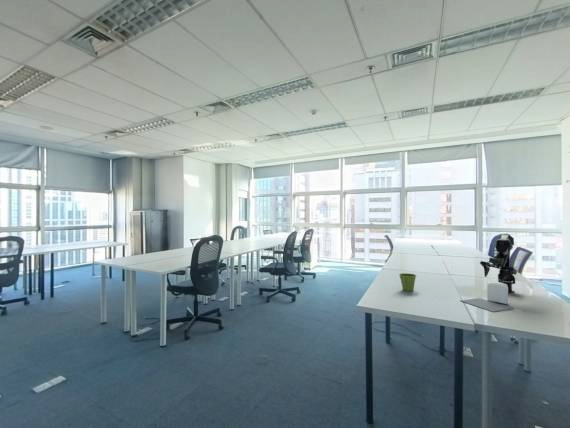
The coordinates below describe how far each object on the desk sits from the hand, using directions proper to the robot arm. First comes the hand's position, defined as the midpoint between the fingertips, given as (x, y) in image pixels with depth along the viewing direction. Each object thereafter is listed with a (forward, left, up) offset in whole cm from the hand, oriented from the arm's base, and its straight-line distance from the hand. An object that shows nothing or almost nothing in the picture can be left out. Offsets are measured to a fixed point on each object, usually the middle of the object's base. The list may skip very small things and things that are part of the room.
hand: (493, 279), depth 169 cm
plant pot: (+38, -33, -13) cm, 52 cm away
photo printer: (+6, +7, -13) cm, 15 cm away
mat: (+17, +8, -13) cm, 22 cm away
